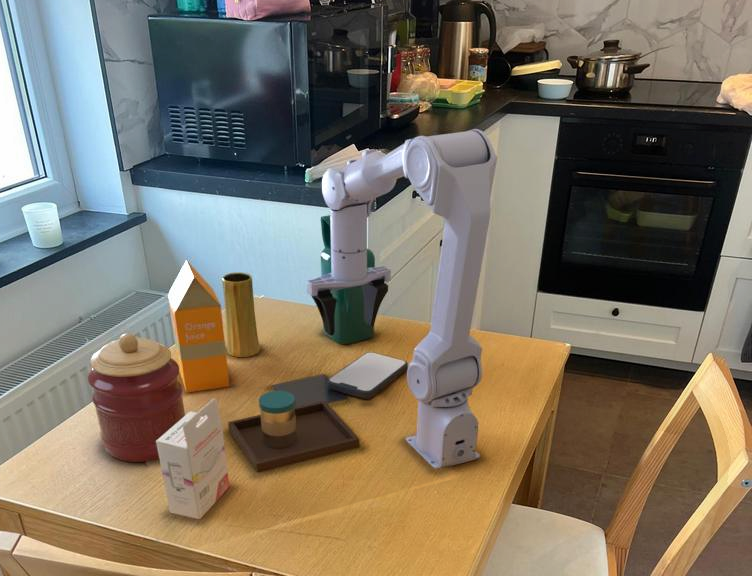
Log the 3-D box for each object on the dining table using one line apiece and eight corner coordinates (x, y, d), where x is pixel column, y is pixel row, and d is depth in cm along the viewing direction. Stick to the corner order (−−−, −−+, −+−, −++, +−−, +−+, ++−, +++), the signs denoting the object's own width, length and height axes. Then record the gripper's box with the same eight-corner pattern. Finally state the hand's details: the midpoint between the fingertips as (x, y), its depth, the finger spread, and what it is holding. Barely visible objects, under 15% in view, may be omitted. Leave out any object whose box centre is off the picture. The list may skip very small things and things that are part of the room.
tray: (359, 449, 118) (359, 438, 117) (257, 475, 112) (256, 464, 111) (324, 410, 128) (324, 400, 127) (229, 432, 122) (227, 421, 121)
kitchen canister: (85, 445, 118) (59, 337, 108) (152, 412, 127) (133, 309, 117) (140, 474, 112) (118, 363, 102) (207, 437, 120) (192, 331, 110)
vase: (257, 358, 144) (251, 283, 136) (225, 357, 144) (216, 283, 136) (262, 344, 149) (256, 271, 140) (230, 343, 149) (222, 271, 141)
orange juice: (185, 392, 132) (168, 278, 121) (178, 371, 139) (162, 261, 128) (230, 386, 134) (218, 273, 123) (221, 365, 141) (209, 256, 130)
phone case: (367, 358, 144) (323, 389, 132) (367, 350, 143) (323, 380, 131) (410, 369, 141) (369, 402, 129) (410, 361, 140) (369, 393, 128)
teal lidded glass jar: (302, 443, 118) (300, 403, 114) (269, 451, 116) (265, 410, 112) (289, 427, 122) (287, 387, 118) (257, 435, 120) (253, 395, 116)
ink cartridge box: (200, 481, 111) (186, 389, 102) (230, 488, 109) (220, 395, 101) (167, 515, 104) (150, 419, 95) (199, 523, 103) (185, 427, 94)
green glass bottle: (378, 337, 152) (379, 223, 139) (341, 347, 148) (339, 230, 135) (351, 320, 158) (351, 210, 146) (316, 329, 155) (311, 217, 142)
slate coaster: (347, 401, 130) (347, 398, 130) (292, 413, 127) (292, 410, 126) (324, 376, 138) (324, 373, 137) (271, 388, 134) (271, 385, 134)
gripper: (375, 234, 128) (375, 312, 136) (296, 247, 122) (300, 328, 130) (398, 246, 123) (396, 326, 131) (316, 260, 117) (319, 343, 125)
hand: (349, 328), depth 130 cm, fingers open, 7 cm apart
